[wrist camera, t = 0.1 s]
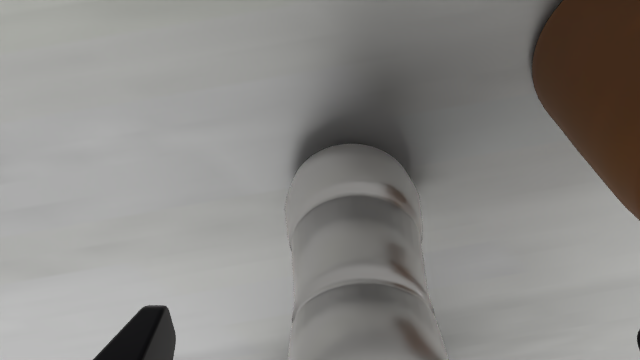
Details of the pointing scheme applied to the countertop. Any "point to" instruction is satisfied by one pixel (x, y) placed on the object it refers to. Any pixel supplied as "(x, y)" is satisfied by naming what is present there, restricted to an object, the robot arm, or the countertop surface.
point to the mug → (595, 87)
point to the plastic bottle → (358, 260)
